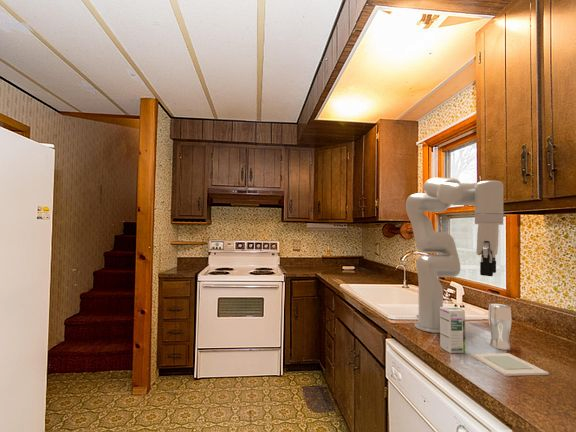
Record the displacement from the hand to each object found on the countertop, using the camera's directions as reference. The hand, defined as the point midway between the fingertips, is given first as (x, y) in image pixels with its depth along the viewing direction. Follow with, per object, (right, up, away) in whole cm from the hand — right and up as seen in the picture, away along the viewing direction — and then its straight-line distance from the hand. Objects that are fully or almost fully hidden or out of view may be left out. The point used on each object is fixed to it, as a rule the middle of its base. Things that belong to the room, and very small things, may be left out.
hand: (488, 273), depth 94 cm
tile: (+6, -29, 0) cm, 29 cm away
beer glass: (+14, -30, +15) cm, 36 cm away
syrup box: (-6, -29, +11) cm, 31 cm away
